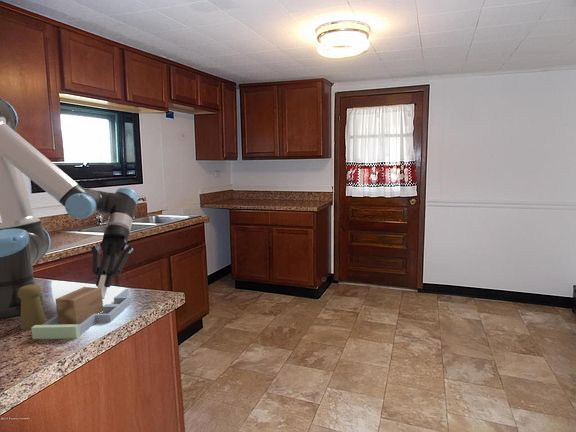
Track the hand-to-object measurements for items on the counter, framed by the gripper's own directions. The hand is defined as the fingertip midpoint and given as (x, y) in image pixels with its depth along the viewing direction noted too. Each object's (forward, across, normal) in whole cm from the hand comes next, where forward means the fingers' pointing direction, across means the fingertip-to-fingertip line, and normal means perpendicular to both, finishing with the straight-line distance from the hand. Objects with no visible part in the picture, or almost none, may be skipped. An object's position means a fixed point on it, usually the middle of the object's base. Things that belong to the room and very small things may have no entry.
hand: (99, 296), depth 114 cm
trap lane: (+5, 0, 0) cm, 5 cm away
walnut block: (+7, +3, +2) cm, 7 cm away
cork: (+10, +13, +5) cm, 17 cm away
